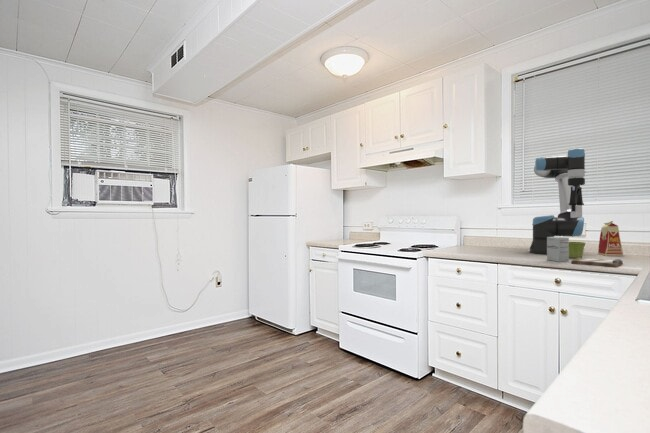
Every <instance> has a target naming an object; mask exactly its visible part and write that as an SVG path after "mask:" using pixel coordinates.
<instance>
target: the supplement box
mask: <svg viewBox="0 0 650 433" xmlns="http://www.w3.org/2000/svg"><path fill="white" fill-rule="evenodd" d="M569 242H570V237H568V236H554V237H547V254H546V260H547V261H552V262H558V263H560V262H561V263H562V261H563V262H568V261H569V260H570V257H569Z"/></svg>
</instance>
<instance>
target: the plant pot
mask: <svg viewBox="0 0 650 433" xmlns="http://www.w3.org/2000/svg"><path fill="white" fill-rule="evenodd" d="M586 244H587V242H584V241H569V259H570V258H571V259H573V258H574V259H577V258H583V255H584V250H585V246H586Z"/></svg>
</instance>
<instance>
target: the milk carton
mask: <svg viewBox="0 0 650 433" xmlns="http://www.w3.org/2000/svg"><path fill="white" fill-rule="evenodd" d="M603 224H604V225H603V226H602V227H601V230H600V235H599V240H598V251H597V252H598V253H597V255H602V256H605V257H606V256H609V257H610V256H611V257H612V256H614V257H615V256H616V257H617V256H619V257H624V251H623V247H622V241H621V235H620V230H619V225H617V224H615V223H614V220H612V221H609V222H604V223H603Z"/></svg>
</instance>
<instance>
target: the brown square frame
mask: <svg viewBox="0 0 650 433" xmlns="http://www.w3.org/2000/svg"><path fill="white" fill-rule="evenodd" d="M570 263H571V264H572V265H581V266H582V265H584V266H585V265H586V266H593V267H594V266H595V267H596V266H597V267H608V268H618V267H620V266H621V265H623V264H624V263H623V260H622V259H620V258H615V259H603V258H590V257H589V258H588V257H582V258H574V259H572V260H571V262H570Z"/></svg>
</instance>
